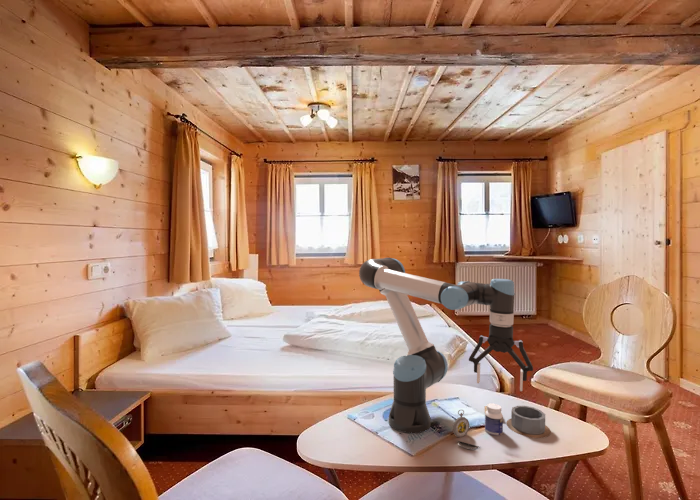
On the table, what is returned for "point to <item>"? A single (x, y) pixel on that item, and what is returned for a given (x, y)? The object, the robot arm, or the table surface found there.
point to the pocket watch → (462, 430)
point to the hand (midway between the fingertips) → (499, 385)
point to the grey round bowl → (528, 420)
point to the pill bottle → (494, 420)
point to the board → (545, 434)
